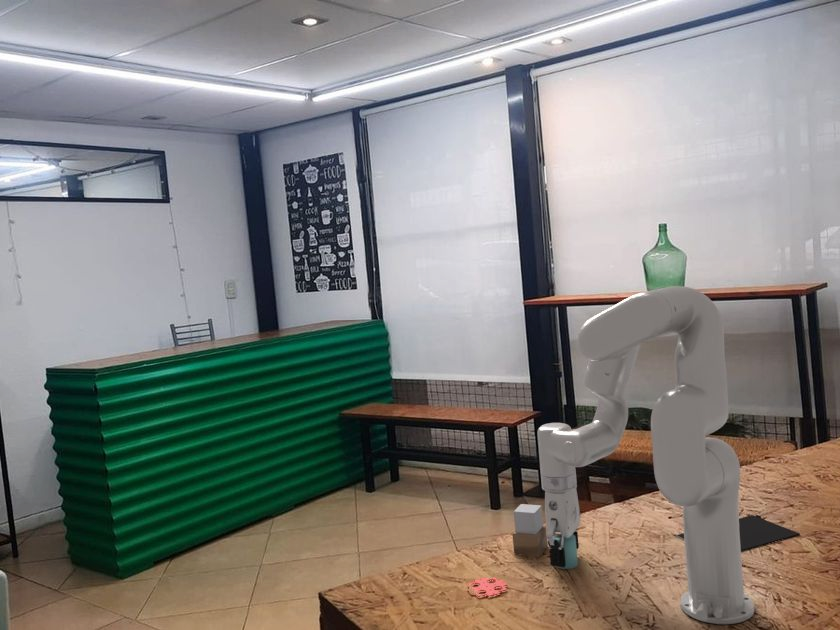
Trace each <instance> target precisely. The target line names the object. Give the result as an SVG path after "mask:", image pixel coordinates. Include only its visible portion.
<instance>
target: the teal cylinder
mask: <svg viewBox="0 0 840 630" xmlns="http://www.w3.org/2000/svg"><path fill="white" fill-rule="evenodd" d="M559 534H561V533H560V532H559ZM555 540H557V541H558V542H559V540H560V538H555ZM563 548H564V549H565V561H566V566H565V567H557V568H558V569H561V568H562V570H570V569H574V568H576V567H577V566H578V565H579V562H578V561H579V560H578V549H577V547H576V537H575V535H573V534H572V535H571V536H570V537H569V538H566V537H564V541H563Z"/></svg>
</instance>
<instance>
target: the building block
mask: <svg viewBox="0 0 840 630" xmlns="http://www.w3.org/2000/svg"><path fill="white" fill-rule="evenodd" d="M490 580H491V581H492V580H493V581H495V582H490V583H488V581H490ZM474 581H475V582H474ZM474 583H475V584H479V585H480V586H473V587H472V586H471V585H472V584H474ZM467 584H468V585H469V586H471V587H472V589H474V590H475V591H474V592H475V593H476V594H477V596H478V597H480V596H485V595H487V596H488V597H489V596H494V595H497V594H500V592H502V591H506V590H507V591H508V589H507V588H505V587H504V586H507V587H508V584H507V583H506V582H505V581H504V580H503V579H500V580H499V579H497V577H496V576H494V577H490V578H487V577H482V578H478V579H474V580H473V582H468V583H467ZM471 587H470V589H471ZM496 587H501V588H502V589H496V590H495V588H496ZM472 591H473V590H472ZM478 591H485V592H486V593H480V594H478ZM472 593H473V592H472ZM500 595H501V594H500Z"/></svg>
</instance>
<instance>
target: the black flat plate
mask: <svg viewBox="0 0 840 630" xmlns="http://www.w3.org/2000/svg"><path fill="white" fill-rule="evenodd" d="M739 533H740V547H741V551H742V552H745V550H746V551H748V549H749V550H751V549H752V548H753V549H756V548H760V547H764V546H766V544H767V545H770V544H773V543H772V542H774V543H776V542H775V541H777V542H779V541H778V540H781V541H783V540H782V539H784V540H787V538H788V539H791V538H795V537H797V536H801V533H800V532H797V531H794V530H792V529H789V528H787V527H784V526H782V525H779V524H776V523H775V522H772V521H769V520H766V519H764V518H762V516H761V515H759V514H758V515H757V514H755V515H754V514H748V515H747V516H744V517H739ZM673 536H675V538H678V539H680V540H682V539H683V540H682V541H684V542H685V540H684V532H683V533H680V534H679V533H678V534H676V533H674V535H673ZM769 543H770V544H769ZM759 546H760V547H759Z"/></svg>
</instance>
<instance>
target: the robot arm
mask: <svg viewBox="0 0 840 630" xmlns="http://www.w3.org/2000/svg"><path fill="white" fill-rule="evenodd" d="M674 333H675V334H676V335H677V345H676V347H675V352H674V369H675V388H673V389H671V390H668V391H666V392H664V393H663V394H662V395H660V397H659V398H657V400H656V401H655V403H654V405H653V407H652V411H651V416H650V432H651V444H652V445H651V446H652V459H653V471H654V478H655V482H656V484H657V485H656V486H657V487H658V489H659V491H660V494H662V496H663V497H664V498H665V499H666V501H668V502H670V503H671V504H673V505H674V506H678V507H682V522H683V525H682V526H683V527H682V528H683V533H684V540H685V541H684V540H683V541H684V549H685V550H684V551H685V552H684V553H685V563H686V564H685V565H686V580H687V591H685V592H684V593H683V594H682V595H681V596H680V600H679V601H680V607H681V610H683V612H684V613H686V614H687V615H688V616H689V617H691V618H693V619H696V620H698V621H701V622H704V623H709V624H715V625H716V624H717V625H734V624H740V623H743V622H745V621H747V620H749V619H750V618H752V617H753V615H754V614H755V604H754V602H753V600H752V599H751V598H750V597H749V596H748V595H746V594H744V593H745V591H744V577H743V563H742V552H741V547H740V533H739V518H740V516H739V494H740V484H741V466H740V461H739V458H738V455H737V453H736V451H735V450H734V449H733V447H732V446H731V445H730V444H728V443H727V442H726V441H724V440H722V439H721V438H720V439H719V438H716V437H711V436H710V437H707V436H708V435H711V434H713V433H715V432H716V431H718V430H719V429H721V428H722V427H724V425H725V424H726V423H727V421H728V419H729V412H730V411H729V395H728V394H729V393H728V380H727V367H726V356H725V354H726V353H725V331H724V323H723V319H722V316H721V313H720V311H719V309H718V307H717V305H716V304H715V303H714V301H713V300H711V298H709V296H707V295H706V294H704V293H703V292H701V291H699V290H697V289H695V288H692V287H689V286H682V285H681V286H679V285H678V286H677V285H674V286H673V285H671V286H666V287H661V288H656V289H651V290H647V291H646V290H645V291H642V292H638V293H636V294H632V295H631V296H629V297H627V298H624V299H623V300H621V301H620V302H618V303H616V304H614V305H613V306H610V307H609V308H607V309H605V310H603V311H601V312H599V313H598V314H595V315H594V316H592V317H591V318H589V319H587V320H586V321H585V322H584V323H583V324H582V325H581V327H580V329H579V332H578V335H577V345H578V348H579V351H580V353H581V354H582V356H583V357H585V359H587V360H588V363H587V366H586V369H585V372H584V375H583V384H584V386H585V388H586V389H587V390H588V391H589V392H591V393H592V394H594V395H595V396H597V397H598V400H597V401H598V402H597V407H596V410H595V413H594V416H593V419H592V422H590V423H588V424H585V425H583V426H579V427H578V428H576V429H575V428H574V429H572V428H571V426H570V425H569V424H567V423H564V422H563V423H562V422H550V423H545V424H542V425H540V427H538V429H537V444H538V458H539V469H540V479H541V480H540V481H541V489H542V491H544V513H545V526H546V534H547V545H548V550H549V560H550V563H549V564H550V565H551V567H556V568H558V567H565V566H566V561H565V549H564V548H563V541H564V537H566V538H569V537H570V536H571V535H572V534H573V535H575V537H576V547H577V550H578V549H579V547H580V544H579V534H578V533H579V532H578V528H579V526H580V524H581V512H580V511H581V510H580V505H579V497H578V491H577V487H578V484H577V473H576V472H577V471H576V468H583V467H586V466H589V465H591V464H592V463H595V462H596V461H598V460H601V459H603V458H605V457H608V456H610V455H611V454H613V453H615V451H616V449H617V448H618V447H619V445H620V443H621V441H622V439H623V435H624V432H625V430H626V427H627V424H628V420H629V405H628V404H629V403H628V398H627V395H626V391H627V387H628V384H629V382H630V379H631V376H632V375H631V374H632V372H633V371H634V370H633V369H634V366H635V364H636V361H637V358H638V355H639V351H640V348H641V345H642V344H645V343H647V342H648V341H651V340H655V339H657V338H661V337H664V336H668V335H671V334H674ZM560 533H561V534H560ZM555 538H560V540H559V542H558V541H557V540H555Z"/></svg>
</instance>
